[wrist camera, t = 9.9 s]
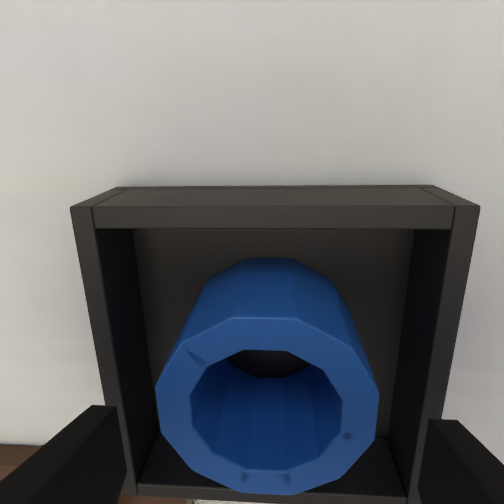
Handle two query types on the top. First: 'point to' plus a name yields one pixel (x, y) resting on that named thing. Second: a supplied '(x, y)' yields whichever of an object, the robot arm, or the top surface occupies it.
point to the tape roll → (268, 382)
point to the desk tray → (271, 361)
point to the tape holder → (10, 457)
